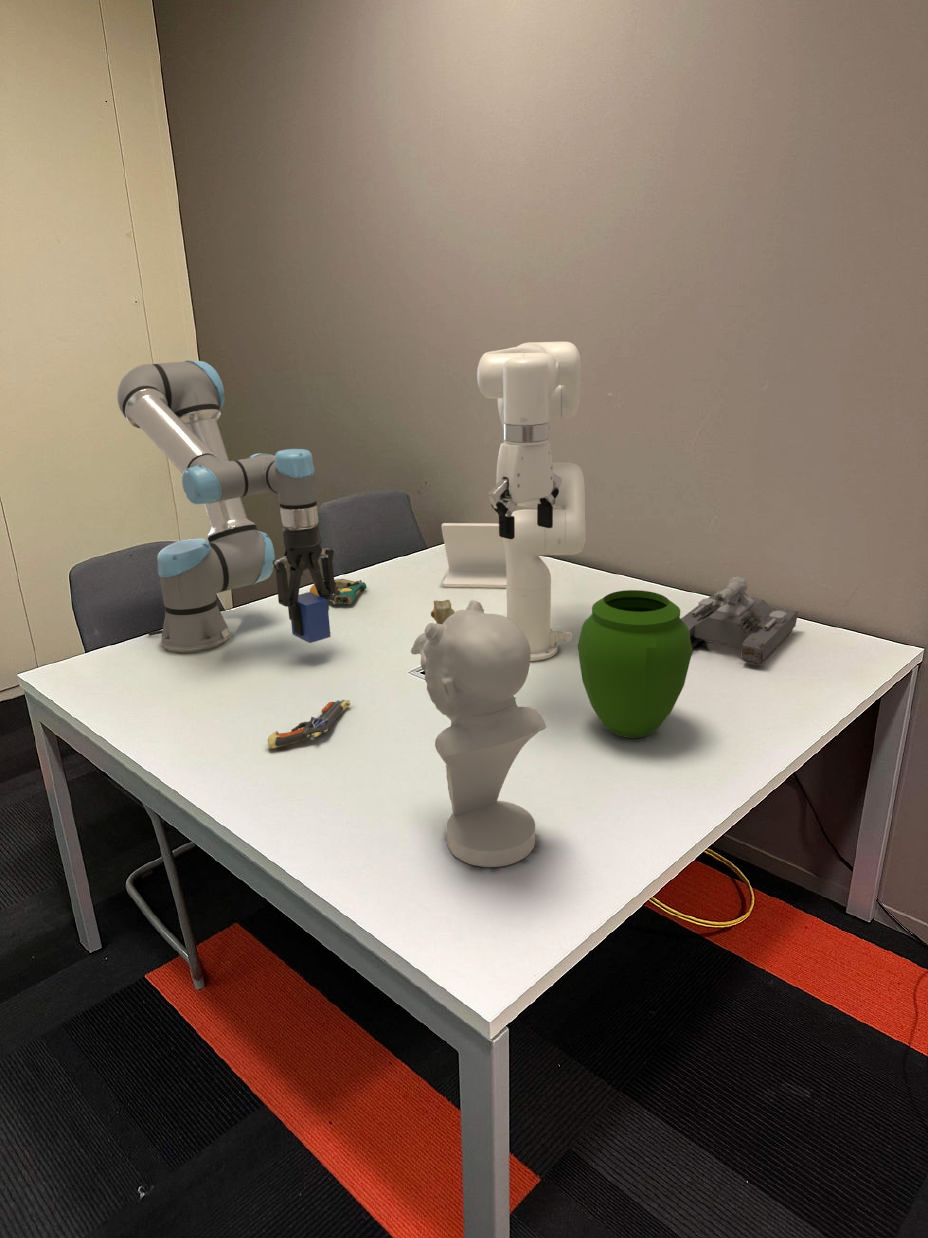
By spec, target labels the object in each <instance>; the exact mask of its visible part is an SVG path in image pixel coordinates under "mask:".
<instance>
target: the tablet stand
mask: <svg viewBox="0 0 928 1238" xmlns="http://www.w3.org/2000/svg"><path fill="white" fill-rule="evenodd" d="M441 533H442V538H443V543H444V548H445V549H444V550H445V554H446V558H447V565H448V571H447V573H446V575H445V576H444V579H443V580H442V587H445V588H450V587H451V588H490V589H491V588H492V589H494V588H495V589H497V588H498V589H502V588H503V589H507V574H506V557H505V550H504V544H503V538H502V537H500V536H499V523H490V522H489V523H482V522H480V523H479V522H470V523H469V522H462V523H461V522H443V523H442V524H441Z"/></svg>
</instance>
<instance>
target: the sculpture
mask: <svg viewBox="0 0 928 1238" xmlns="http://www.w3.org/2000/svg"><path fill="white" fill-rule="evenodd" d="M455 612H456V611H455V609H453V608H452V602H451V601H450V599H445V600H433V610H431V612H430V617H431V618H432V619H433V620H434V621H435V622H436V623H435V624H443V623H444V622H445V620H446V619H447V618H448V617H450V616H451V615H452V614H453V613H455Z"/></svg>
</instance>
